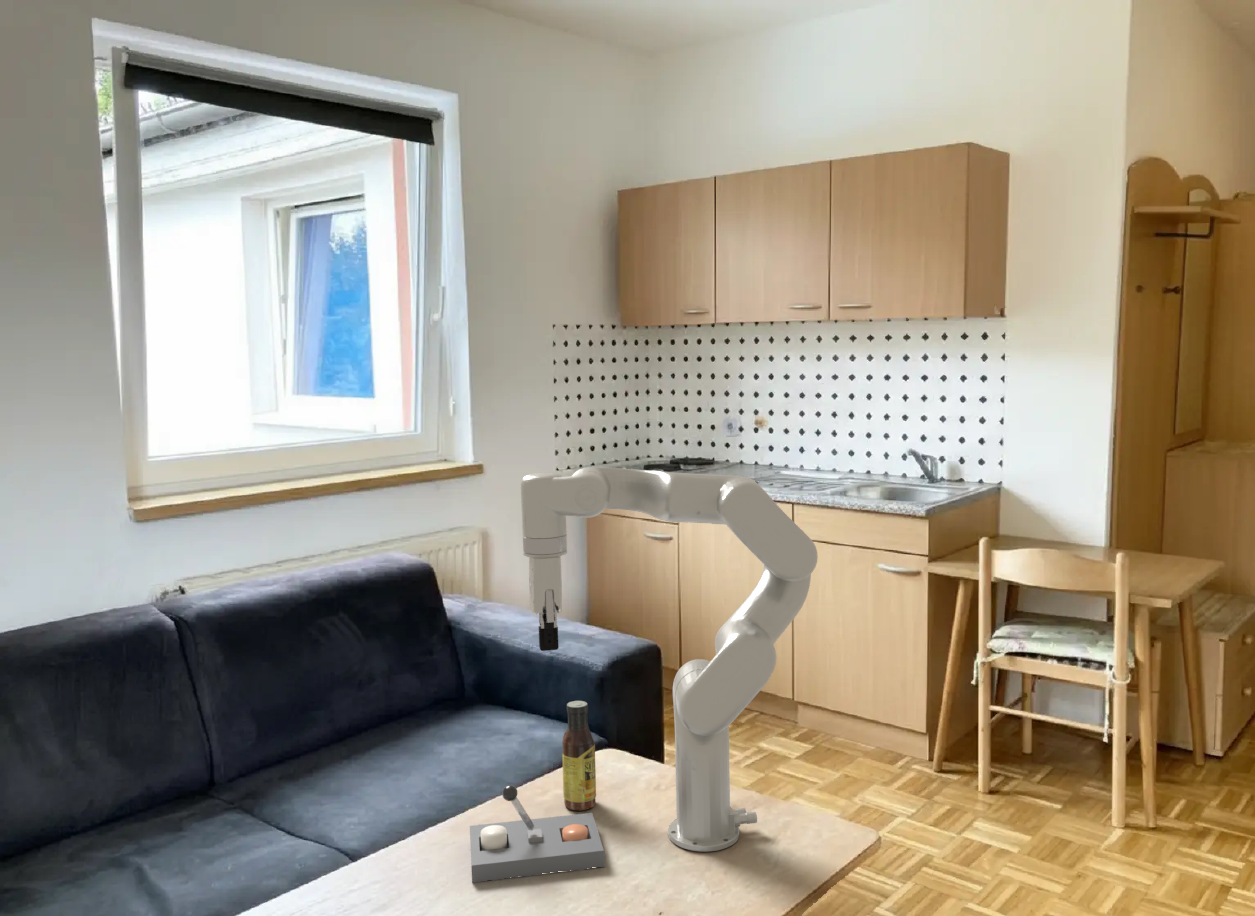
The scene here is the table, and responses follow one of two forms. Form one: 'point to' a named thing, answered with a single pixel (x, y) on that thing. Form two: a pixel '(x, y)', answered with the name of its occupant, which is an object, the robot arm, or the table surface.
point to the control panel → (536, 849)
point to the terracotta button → (574, 832)
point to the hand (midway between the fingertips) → (548, 648)
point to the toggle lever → (517, 805)
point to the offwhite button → (493, 837)
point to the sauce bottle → (578, 759)
